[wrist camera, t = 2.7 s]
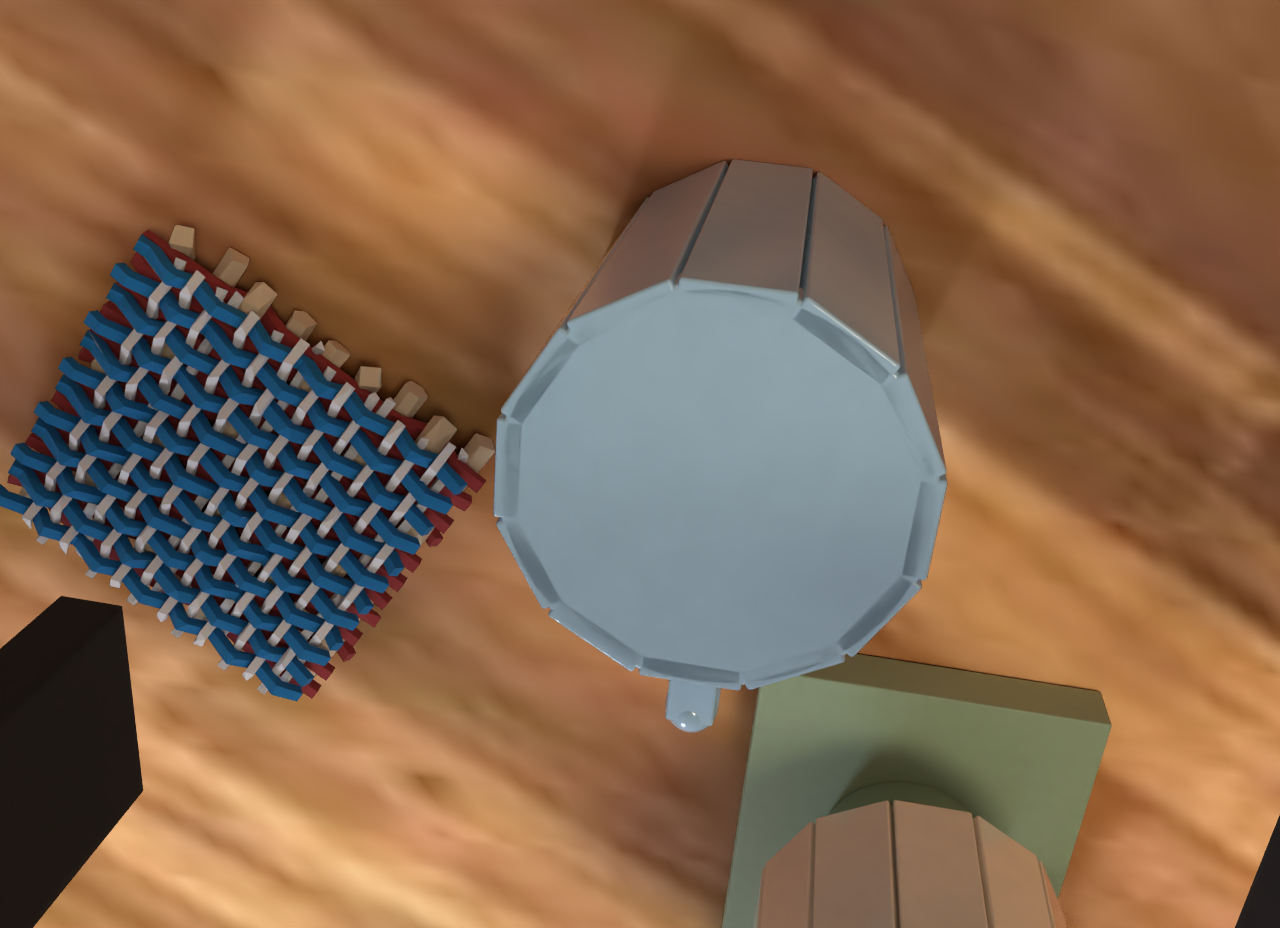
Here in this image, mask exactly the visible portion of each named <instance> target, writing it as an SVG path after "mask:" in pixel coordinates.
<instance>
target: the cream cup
mask: <svg viewBox="0 0 1280 928" xmlns="http://www.w3.org/2000/svg"><path fill="white" fill-rule="evenodd" d="M753 928H1067V925H1066V920H1065V916H1064V913H1063V911H1062V909H1061V906H1060V904H1059V901H1058V899H1057V897H1056V894H1055V892H1054V890H1053V887H1052V885H1051V882H1050V880H1049V878H1048V875H1047V873H1046V871H1045V868H1044V866H1043V863H1042V862H1041V861H1040V860H1038V859H1037V856H1036V855H1035V854H1034V853H1032V852H1031V851H1029V850H1028V849H1026V848H1025V847H1024V846H1022V845H1021V844H1019V843H1018V842H1016V841H1015V840H1013V839H1012V838H1010V837H1009V836H1008V835H1006V834H1005V833H1003V832H1002V831H1000V830H999V829H997V828H996V827H995V826H993V825H992V824H990V823H989V822H987V821H986V820H984V819H983V818H981V817H980V816H976V817H975V818H974V819H973V817H972V813H970V812H966V811H960V810H954V809H948V808H942V807H936V806H930V805H924V804H918V803H912V802H906V801H900V800H894V802H893V806H892V807H891V805H890V803H889V801H888V800H885V801H881V802H878V803H874V804H870V805H866V806H862V807H858V808H854V809H850V810H846V811H843V812H839V813H835V814H831V815H827V816H823V817H819V818H817V819H816V824H815V823H813V822H809V823H808V824H807V825H806V826H805V827H804V828H803V829H802V830H801V831H800V832H799V833H798V834H796V835H795V836H794V837H793V838H792V839H791V840H790V841H789V842H788V843H787V844H786V845H785V846H784V847H783V848H782V849H780V850H779V851H778V852H777V853H776V854H775V855H774V856H773V857H772V858H771V859H770V860H769V861H768V862H767V863H766V864H765V868H763V869H762V873H761V879H760V884H759V890H758V896H757V902H756V908H755V914H754V920H753Z"/></svg>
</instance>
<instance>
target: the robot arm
mask: <svg viewBox="0 0 1280 928" xmlns="http://www.w3.org/2000/svg"><path fill="white" fill-rule="evenodd" d="M142 791H143V785H142V776H141V767H140V759H139V750H138V741H137V732H136V724H135V715H134V706H133V698H132V689H131V680H130V671H129V663H128V654H127V645H126V636H125V628H124V619H123V610H122V606H118V605H112V604H106V603H100V602H94V601H88V600H82V599H76V598H70V597H64V596H61V597H59V598H58V599H57V600H56V601H55V602H54V603H53V604H51V605H50V606H49V607H48V608H47V609H46V610H45V611H43V612H42V613H41V614H40V615H39V616H38V617H36V618H35V619H34V620H33V621H32V622H31V623H30V624H28V625H27V626H26V627H25V628H24V629H23V630H21V631H20V632H19V633H18V634H17V635H16V636H15V637H13V638H12V639H11V640H10V641H9V642H8V643H7V644H5V645H4V646H3V647H2V648H1V649H0V928H33V927H34V926H35V924H36V923H37V922H38V921H39V919H40V918H41V917H42V916H43V914H44V913H45V912H46V911H47V910H48V908H49V907H50V906H51V905H52V903H53V902H54V901H55V900H56V898H57V897H58V896H59V895H60V893H61V892H62V891H63V890H64V888H65V887H66V886H67V885H68V883H69V882H70V881H71V880H72V878H73V877H74V876H75V875H76V873H77V872H78V871H79V870H80V869H81V867H82V866H83V865H84V864H85V862H86V861H87V860H88V859H89V857H90V856H91V855H92V854H93V852H94V851H95V850H96V849H97V847H98V846H99V845H100V844H101V842H102V841H103V840H104V839H105V837H106V836H107V835H108V834H109V832H110V831H111V830H112V829H113V828H114V826H115V825H116V824H117V823H118V821H119V820H120V819H121V818H122V816H123V815H124V814H125V813H126V811H127V810H128V809H129V808H130V806H131V805H132V804H133V803H134V801H135V800H136V799H137V798H138V796H139V795H140V794H141V793H142ZM1235 928H1280V816H1279V818H1278V821H1277V823H1276V826H1275V828H1274V831H1273V833H1272V836H1271V838H1270V841H1269V843H1268V846H1267V848H1266V851H1265V853H1264V856H1263V858H1262V861H1261V863H1260V866H1259V868H1258V871H1257V873H1256V876H1255V879H1254V881H1253V884H1252V886H1251V889H1250V891H1249V894H1248V896H1247V899H1246V901H1245V904H1244V906H1243V909H1242V911H1241V914H1240V916H1239V919H1238V921H1237V924H1236V926H1235Z"/></svg>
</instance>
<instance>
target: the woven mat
mask: <svg viewBox="0 0 1280 928" xmlns="http://www.w3.org/2000/svg"><path fill="white" fill-rule="evenodd" d="M133 250H135V251H136V253H135V255H134V256H133V258H132V260H131V261H130V262H131V263H132V265H133V266H134V268H135V269H136V270H137V272H138V273H139V274H138V273H136V272H134V271H132V270H131V269H130V268H129V267H128V266H127V265H126V264H125V263H117V264H115V266H114V268H113V270H112V272H111V274H110V275H111V276H112V277H113V278H114V279H115V280H117V281H118V282H117V284H116V283H114V284H113V286H112V288H111V290H110V291H109V293H108V295H107V297H106V298H107V299H109V300H110V301H108V302H107V303H106V304H104V305H103V307H102V309H101V311H100V312H99V311H98V310H97V311H90V312H89V313H88V315H87V317H86V319H85V321H84V323H85V324H86V325H87V326H88V327H90V330H88V331H87V332H86V334H85V336H84V338H83V339H82V341H81V343H80V345H81V346H83V348H82V349H81V351H80V354H79V359H80V360H83V361H86V362H89V363H91V369H90V368H88V367H85V366H83V365H80V364H79V363H78V362H77V361H76V360H75V359H73V358H72V357H67V358H63V360H62V362H61V364H60V366H59V367H58V369H59V370H60V371H62V372H63V373H64V374H63V375H62V377H61V379H60V381H59V382H58V384H57V386H56V388H55V389H56V390H57V391H56V393H55V394H54V396H53V398H52V400H51V401H52V402H53V403H55V404H56V405H57V406H58V407H60V408H61V409H62V410H63V411H61V410H58V409H56V408H55V407H53V406H52V405H51V404H50V403H49V402H48V401H44V402H39V403H38V405H37V407H36V409H35V411H34V413H35V414H36V415H37V416H38V417H39V418H38V420H37V422H36V423H35V425H34V427H33V429H32V431H31V432H33V433H32V434H30V435H29V437H28V439H27V441H26V442H25V443H20V444H15V446H14V448H13V450H12V452H11V455H12V456H13V457H14V458H15V461H14V463H13V465H12V466H11V468H10V470H9V472H8V473H9V474H10V475H9V477H8V482H7V483H10V484H14V485H18V486H22V490H21V492H20V494H19V495H18V494H15V493H12V492H9V491H8V490H7V489H5V488H4V487H3V486H2V485H1V484H0V506H2V507H4V508H7V509H10V510H13V511H15V512H18V513H21V514H23V516H22V519H23V520H24V521H25V522H26V524H27V525H28V526H29V527H30V529H31V526H32V520H33V523H34V525H35V527H36V530H37V532H38V535H39V537H38V538H37V539H36V541H37V542H39V543H41V544H42V545H44V543H45V542H46V541H47V540H48V539H49V538H50V539H54V540H58V541H59V544H60V547H61V549H62V550H63V551H64V552H65V554H66V553H67V550H68V547H69V545H70V544H73V545H74V546H75V548H76V552H77V553H78V554H79V555H80V557H81V558H83V559H84V561H85V562H86V564H87V565H88V567H89V569H88V571H87V572H86V573H85V575H87V576H88V577H90V578H91V579H93V578H94V576H95V575H96V574H97V573H102V574H107V575H112V576H113V577H112V578H111V581H110V586H113V587H117V588H120V585H121V581H122V582H123V583H124V584H125V586H126V587H127V588H128V589H129V591H130V592H131V595H130V596H129V597H128V599H127V601H128V602H129V603H131V604H132V605H136V603H137V602H139V603H141V604H145V605H148V606H152V607H156V608H159V609H160V610H159V611H158V614H157V617H158V618H159V620H160V621H161V622H162V621H164V620H166V619H167V617H168V614H169V616H170V618H171V620H172V623H173V625H174V627H175V628H174V629H173V631H172V632H171V634H172V635H174V636H175V637H177V638H179V637H180V636H181V635H182V633H183V632H187V633H191V634H195V635H198V636H197V637H196V639H195V641H194V642H193V644H196V645H199V646H201V647H202V646H203V644H204V642H205V640H206V639H207V638H208V639H209V640H210V642H211V643H212V645H213V646H214V647H215V649H216V650H217V652H218V653H219V654H220V656H221V657H222V660H221V661H220V662H219V664H218V665H217V666H218V667H220V668H222V669H223V670H226V668H227V667H228V666H229V665H234V666H240V667H245V668H247V669H246V671H245V672H244V673H243V675H242V676H243V677H244V678H245V679H246V681H247V680H248V679H250V678H252V676H253V675H254V674H256V675H257V677H258V678H259V679H260V680H261V682H262V683H261V684H260V686H259V687H258V688H257V690H258V691H260V692H261V693H262V694H265V693H266V692H267V691H269V692H270V693H271V694H272V695H275V696H279V697H282V698H286V699H290V700H294V701H298V699H299V698H300V697H301V695H302V694H303V693H304V694H306V695H307V696H309V697H310V698H311V699H312V698H313V697H314V696H315V694H316V693H317V692H318V690H319V688H320V687H321V685H320V684H319V683H317V682H316V681H314V680H313V678H314V677H315V676H316V674H317V675H318V676H320V677H321V678H323V679H324V680H327V679H328V677H329V676H330V675H331V674H332V672H333V670H334V669H335V667H334V666H332V665H331V664H330V663H328V661H329V660H330V659H331V657H332V656H333V655H334V654H335V653H336V652H337V653H338V654H339V656H340V657H341V659H342V661H347V660H350V659H351V658H352V657H353V656H354V654H355V653H356V652H355V650H354V648H353V646H354V645H355V644H356V642H357V641H358V640H359V638H360V637H361V636H362V634H363V633H362V632H360V631H359V630H358V629H356V626H357V625H358V624H359V621H360V619H361V620H363V621H365V622H366V623H368V624H370V625H371V626H373V627H375V626H376V624H377V623H378V621H379V620H380V619H381V617H380V615H379V614H378V613H377V612H375V611H373V610H372V608H373V607H374V606H373V603H375V604H376V605H377V606H378V607H379V608H380V609H381V610H382V609H383V608H384V607H385V606H386V605H387V604H388V603H389V601H390V600H391V599H392V597H391V596H390V595H389V594H388V593H387V592H385V590H386V589H387V587H388V586H390V587H391V588H392V589H394V590H395V591H397V592H398V591H399V589H400V588H401V587H402V586H403V584H404V583H405V581H406V579H407V578H406V577H405V576H403V575H402V574H401V573H400V572H401V571H402V570H403V569H404V567H406V568H407V569H408V570H410V571H411V572H414V571H415V570H416V568H417V567H418V566H419V565H420V563H421V560H422V559H421V558H420V557H419V556H417V555H416V554H415V552H416V551H417V550H418V549H419V547H420V546H421V545H422V544H423V543H424V542H425V541H426V542H427V544H428V545H429V547H430V546H437V545H438V544H439V543H440V542H441V540H442V539H443V537H442V535H441V533H440V532H439V531H441V532H442V533H443V534H444V533H445V532H446V530H447V529H448V528H449V527H450V525H451V524H452V522H453V521H454V520H453V519H452V518H450V517H449V516H448V515H447V514H446V513H447V512H448V511H449V510H450V508H451V507H452V506H453V505H454V506H456V507H458V508H459V509H461V510H463V511H465V510H466V509H467V508H468V507H469V506H470V504H471V503H472V497H471V495H469V494H467V493H465V492H463V491H464V489H465V488H466V487H467V486H468V487H470V488H471V489H472V490H473V491H475V492H476V493H477V492H478V491H479V489H480V488H481V487H482V486H483V484H484V483H485V482H486V480H485V479H484V478H483V477H481V476H480V475H479V474H478V472H479V471H480V470H481V469H482V467H483V466H484V465H485V464H486V462H487V461H488V460H489V459H490V457H491V456H492V455H493V454H494V453H495V448H494V445H493V442H492V440H491V438H489V437H486V436H483V435H480V434H477V433H475V435H474V436H473V437H472V439H471V440H470V441H469V443H468V444H467V445H466V447H465V448H464V449H463V448H461V451H460V453H459V455H458V456H457V454H456V453H455V451H454V450H455V448H456V447H455V446H454V445H453V444H451V443H450V442H448V441H449V440H450V438H451V437H452V436H453V435H454V433H455V432H456V431H457V429H456V428H455V427H454V426H453V425H452V424H451V423H450V422H449V421H448V420H447V419H446V418H445V417H443V416H433V418H432V419H431V420H430V422H429V423H428V424H427V423H424V422H421V421H418V420H415V419H412V418H413V416H414V415H415V414H416V413H417V411H418V410H419V409H420V407H421V406H422V405H423V403H424V402H425V401H426V399H427V398H428V396H427V394H426V392H425V391H424V389H423V387H421V386H420V385H418V384H416V383H414V382H412V381H409V382H407V383H405V385H404V386H403V387H402V389H401V390H400V391H399V393H398V394H397V396H396V397H395V398H394V400H393V399H392V398H391V397H390V398H387V399H386V400H385V401H384V402H383V401H382V400H381V399H380V398H379V396H378V395H377V394H376V393H377V392H378V391H379V389H380V388H381V387H382V378H381V368H375V367H365V366H361V367H360V369H359V371H358V373H357V375H356V376H355V378H354V379H353V378H352V377H350V376H349V375H348V374H346V373H345V372H344V371H342V370H341V369H340V368H341V366H342V365H343V364H344V363H345V361H346V360H347V359H348V358H349V356H350V353H349V351H348V350H347V349H346V348H345V347H343V346H342V345H341V344H340V343H338V342H337V341H330V340H329V341H328V342H327V343H326V344H325V345H324V347H323V344H322V342H321V341H320V342H319V343H318V344H316V345H315V346H314V347H313V348H312V347H310V344H308V343H307V342H306V340H307V339H308V337H309V336H310V334H311V333H312V331H313V330H314V328H315V327H316V325H317V323H316V322H315V321H314V320H313V318H312V317H311V316H310V315H309V314H308V313H307V312H306V311H296V310H295V311H294V312H293V314H292V315H291V317H290V318H289V320H288V321H287V323H286V324H285V325H284V324H283V322H282V321H281V320H280V318H279V317H278V316H277V314H276V313H275V311H274V310H273V309H272V307H271V306H270V305H271V303H272V302H273V300H274V299H275V298H276V296H277V295H278V294H277V293H276V292H274V291H273V290H272V289H271V288H270V287H269V286H268V285H267V284H265V283H264V282H256V283H255V284H254V285H253V287H252V288H251V289H250V291H249V292H246V291H243V290H240V289H237V288H234V287H235V286H236V284H237V283H238V281H239V279H240V278H241V276H242V274H243V273H244V271H245V269H246V268H247V266H248V263H249V259H250V258H248V257H246V256H245V255H243V254H241V253H239V252H238V251H236V250H234V249H232V248H231V247H229V248H228V250H227V252H226V253H225V255H224V256H223V258H222V260H221V261H220V263H219V264H218V266H217V267H216V269H215V271H214V272H213V274H212V273H211V272H209V271H208V270H206V269H205V268H203V267H202V266H201V265H199V264H198V263H196V262H195V261H194V259H195V231H194V228H190V227H185V226H180V225H175V227H174V230H173V233H172V235H171V238H170V241H169V243H167V242H166V241H165V240H163V239H162V238H160V237H159V236H157V235H156V234H155V233H153V232H152V231H150V230H147V231H145V232H144V233H143V234H141V236H140V238H139V240H138V241H137V243H136V245H135V247H134V249H133ZM111 301H112V302H113V303H112V302H111ZM225 302H226V303H227V304H225ZM114 303H115V304H114ZM149 345H151V346H152V348H151V349H150V346H149ZM287 380H289V381H291V383H290V385H288V384H287V383H286V381H287ZM118 381H119V383H120V384H118ZM121 386H122V388H123V390H124V391H125V395H124V393H123V390H122V388H121ZM207 418H209V419H212V420H215V424H214V426H213V427H212V426H211V425H210V423H209V421H208V419H207ZM143 435H144V437H143ZM154 436H155V437H154ZM142 437H143V439H142ZM412 438H415V439H416V441H415V442H414V440H413V439H412ZM27 445H28V446H30V447H31V448H33V449H35V450H36V451H38V452H40V453H38V452H35V451H33V450H31V449H30V448H29V447H28V446H27ZM341 452H344V453H346V454H345V455H344V457H343V456H341V455H340V454H341ZM178 456H179V458H180V460H181V461H182V462H183V463H184V464H185V465H186V466H187V467H186V469H184V467H183V466H182V464H181V462H180V460H179V459H178ZM72 471H76V476H75V479H74V476H73V473H72ZM263 489H265V490H269V491H271V493H270V495H269V497H267V495H266V493H265V492H264V490H263ZM204 505H206V506H207V508H206V510H205V511H204V513H202V511H201V510H202V508H203V507H204ZM45 507H48V508H49V510H50V512H51V515H50V516H49V513H48V510H47V509H46V508H45ZM158 508H159V510H158ZM93 518H94V520H93ZM60 522H61V523H62V524H64V525H65V526H64V525H60ZM397 524H400V526H399V527H398V529H396V528H395V526H396V525H397ZM234 526H235V527H236V528H237V529H238V531H239V532H240V534H241V537H240V538H239V536H238V534H237V531H236V529H235V527H234ZM128 537H129V538H133V539H137V540H136V543H135V545H134V548H133V547H132V545H131V543H130V541H129V539H128ZM281 537H282V538H281ZM216 549H217V550H216ZM318 558H321V559H325V561H324V563H323V564H322V565H321V563H320V561H319V560H318ZM256 571H260V574H259V575H258V577H257V578H256V577H254V574H255V573H256ZM212 574H213V575H212ZM346 574H347V576H348V577H349V579H350V580H348V579H345V578H343V577H344V576H345V575H346ZM149 585H150V586H152V587H153V588H152V590H150V589H149ZM191 587H192V588H191ZM288 592H289V593H290V594H291V596H292V597H293V599H294V600H295V602H294V603H293V601H292V599H291V597H290V595H289V594H288ZM182 603H183V604H186V605H189V608H188V610H187V613H186V611H185V609H184V606H183V604H182ZM268 613H269V614H270V615H268ZM300 633H301V634H300ZM311 635H314V636H313V638H312V639H311V640H310V642H309V643H308V642H307V640H308V639H309V638H310V637H311ZM226 636H227V637H229V638H230V639H231V640H232V641H233V642H234V645H232V643H231V642H230V641H229V639H228V638H227V637H226ZM241 649H242V650H243V651H245V652H243V651H241ZM278 676H280V677H281V678H279V677H278ZM288 682H289V683H288ZM302 692H303V693H302Z"/></svg>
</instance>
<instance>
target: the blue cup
mask: <svg viewBox="0 0 1280 928" xmlns="http://www.w3.org/2000/svg"><path fill="white" fill-rule="evenodd" d="M812 177H813V169H811V168H805V167H796V166H788V165H779V164H770V163H762V162H753V161H744V160H736V159H733V160H732V161H731V163H730V165H729V167H728V164H727V162H726V161H722V162H720V163H717V164H715V165H713V166H711V167H708V168H706V169H704V170H701V171H699V172H697V173H695V174H692V175H690V176H688V177H686V178H683V179H681V180H679V181H676V182H674V183H672V184H670V185H667V186H665V187H663V188H661V189H658V190H656V191H654V192H653V193H652V195H651V196H650V197H647V198H646V199H645V200H644V202H643V203H642V204H641V206H640V207H639V209H638V210H637V211H636V213H635V214H634V216H633V217H632V218H631V220H630V221H629V223H628V224H627V225H626V227H625V228H624V230H623V231H622V233H621V234H620V235H619V237H618V238H617V240H616V241H615V242H614V244H613V245H612V247H611V248H610V249H609V251H608V252H607V254H606V255H605V257H604V258H603V259H602V261H601V262H600V264H599V265H598V267H597V268H596V270H595V271H594V273H593V274H592V276H591V277H590V279H589V280H588V281H587V283H586V284H585V286H584V287H583V289H582V290H581V292H580V293H579V295H578V296H577V298H576V299H575V301H574V302H573V303H572V305H571V306H570V308H569V309H568V311H567V312H566V314H565V315H564V317H563V318H562V320H561V321H560V323H559V324H558V325H557V327H556V328H555V330H554V331H553V333H552V334H551V336H550V337H549V339H548V340H547V342H546V343H545V345H544V346H543V347H542V349H541V350H540V352H539V353H538V355H537V356H536V358H535V359H534V361H533V362H532V364H531V365H530V367H529V368H528V369H527V371H526V372H525V374H524V375H523V377H522V378H521V380H520V381H519V383H518V384H517V386H516V387H515V389H514V390H513V391H512V393H511V394H510V396H509V397H508V399H507V400H506V402H505V403H504V405H503V406H502V408H501V412H502V413H501V414H500V416H499V417H498V419H497V430H496V457H495V484H494V511H493V514H494V516H496V517H499V519H498V521H497V527H498V529H499V531H500V532H501V534H502V536H503V538H504V540H505V541H506V543H507V545H508V547H509V549H510V551H511V552H512V554H513V556H514V558H515V560H516V562H517V563H518V565H519V567H520V569H521V571H522V573H523V574H524V576H525V578H526V580H527V582H528V583H529V585H530V587H531V589H532V591H533V593H534V594H535V596H536V598H537V600H538V602H539V604H540V605H541V607H542V608H543V609H545V608H548V607H549V608H550V611H549V616H550V617H551V618H553V619H554V620H556V621H557V622H559V623H560V624H561V625H563V626H564V627H566V628H567V629H569V630H570V631H572V632H573V633H575V634H576V635H578V636H579V637H581V638H582V639H584V640H585V641H587V642H588V643H589V644H591V645H592V646H594V647H595V648H597V649H598V650H600V651H601V652H603V653H604V654H606V655H607V656H609V657H610V658H612V659H613V660H615V661H616V662H618V663H619V664H620V665H622V666H623V667H625V668H626V669H628V670H629V671H633V670H634V669H635V668H636V667H637V668H639V673H640V675H644V676H650V677H656V678H662V679H669V687H668V693H667V698H666V713H665V717H666V719H669V720H670V721H671V723H672V724H673V725H674V726H675V727H676V728H678V729H680V730H682V731H685V732H691V733H693V732H699V731H702V730H704V729H706V728H707V727H708V726H711V725H712V724H713V721H714V719H715V717H716V714H717V710H718V704H719V698H720V691H721V688H725V689H731V690H737V691H738V690H740V689H741V686H742V685H746V687H747V689H748V690H751V689H755V688H758V687H762V686H765V685H768V684H772V683H775V682H778V681H782V680H785V679H789V678H792V677H795V676H799V675H802V674H806V673H809V672H812V671H816V670H819V669H823V668H826V667H829V666H833V665H836V664H839V663H843V662H844V661H845V654H848V655H849V656H851V657H853V656H854V655H855V654H856V653H857V652H858V651H859V650H860V649H861V648H862V647H863V646H864V645H865V644H866V643H867V642H868V641H869V640H870V639H871V638H872V637H873V636H874V635H875V634H876V633H877V632H878V631H879V630H880V629H881V628H882V627H883V626H884V625H885V624H886V623H887V622H888V621H889V620H890V619H891V618H892V617H893V616H894V615H895V614H896V613H897V612H898V611H899V610H900V609H901V608H902V607H903V606H904V605H905V604H906V603H907V602H908V601H909V600H910V599H911V598H912V597H913V596H914V595H915V594H916V593H917V592H918V591H919V590H920V589H921V587H922V583H921V580H926V578H927V577H928V572H929V568H930V563H931V559H932V554H933V549H934V545H935V540H936V535H937V531H938V526H939V521H940V517H941V512H942V508H943V503H944V498H945V494H946V489H947V484H948V483H947V478H946V465H945V459H944V454H943V448H942V443H941V437H940V432H939V426H938V421H937V415H936V410H935V404H934V399H933V393H932V388H931V382H930V377H929V371H928V365H927V360H926V354H925V349H924V343H923V338H922V332H921V327H920V321H919V316H918V310H917V305H916V299H915V295H914V292H913V290H912V287H911V284H910V282H909V279H908V277H907V274H906V271H905V269H904V266H903V264H902V261H901V259H900V256H899V253H898V251H897V248H896V246H895V243H894V241H893V238H892V235H891V233H890V230H889V228H888V226H883V220H882V218H880V217H879V216H878V215H877V214H875V213H874V212H873V211H871V210H870V209H869V208H867V207H866V206H865V205H863V204H862V203H861V202H859V201H858V200H857V199H855V198H854V197H853V196H852V195H850V194H849V193H848V192H846V191H845V190H844V189H842V188H841V187H840V186H838V185H837V184H836V183H834V182H833V181H832V180H830V179H829V178H828V177H827V176H825V175H824V174H823V173H821V172H818V173H817V174H816V175H815V176H814V178H813V179H812Z"/></svg>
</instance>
